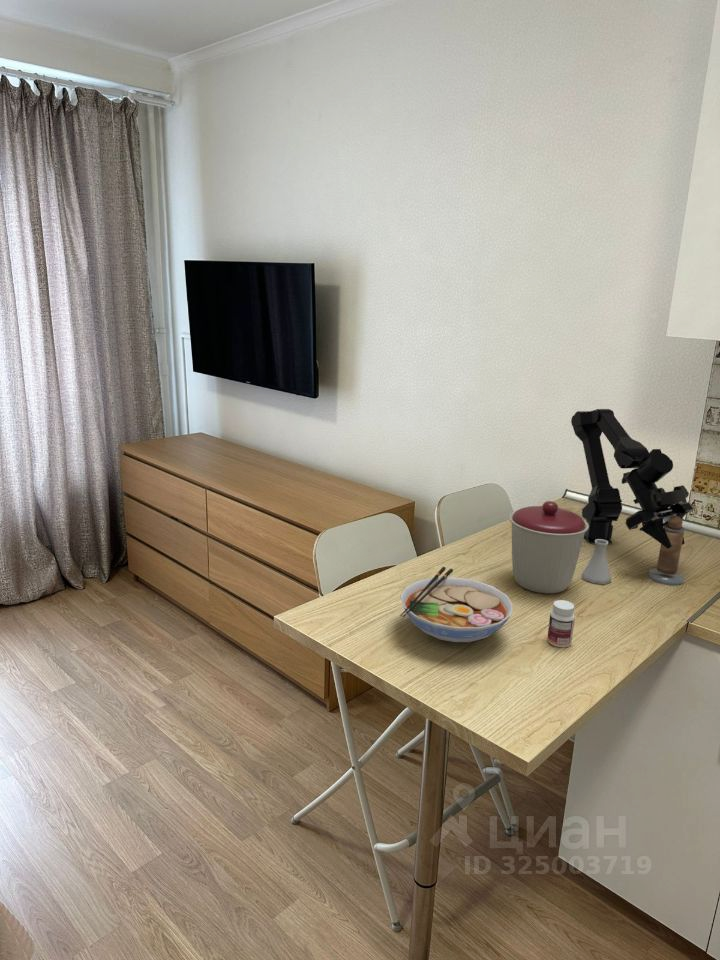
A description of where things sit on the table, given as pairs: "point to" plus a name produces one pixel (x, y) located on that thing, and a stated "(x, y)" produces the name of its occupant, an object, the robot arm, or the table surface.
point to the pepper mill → (671, 556)
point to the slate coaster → (666, 577)
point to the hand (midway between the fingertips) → (676, 546)
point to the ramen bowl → (455, 607)
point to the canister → (546, 546)
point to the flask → (598, 565)
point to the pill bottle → (561, 624)
